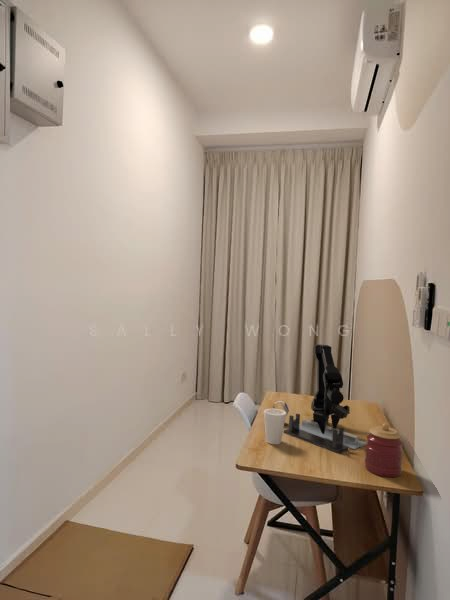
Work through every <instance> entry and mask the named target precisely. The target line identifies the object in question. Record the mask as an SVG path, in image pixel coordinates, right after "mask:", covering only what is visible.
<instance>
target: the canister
mask: <svg viewBox="0 0 450 600" xmlns="http://www.w3.org/2000/svg"><path fill="white" fill-rule="evenodd" d="M368 432H369V433H368V434H367V435H366V436H365V437H366V439H367V442H365V443H366V445H365V446H366V447H365V458H364V465H365V469H366V470H367V471H368V472H370V473H371V474H374V475H376V476H380V477H385V478H396V477H399V476H400V475H401V473H402V470H403V467H402V464H403V453H404V451H403V448H402V447H403V445H404V440H403V439H402V438H401V437H402V434H401V433H400V432H398V430H397V429H395V428H393V427H390V425H389V424H388V423H385V422H384V423H382V425H376V426H373V427H371V428H370V429H368Z"/></svg>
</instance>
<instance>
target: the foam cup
mask: <svg viewBox="0 0 450 600" xmlns="http://www.w3.org/2000/svg"><path fill="white" fill-rule="evenodd" d="M263 417H264V419H263V420H264V431H265V442H266V443H268V444H270V445H279V444H281V442H282V437H283V434H284V427H285V423H286V418H287V416H286V412H285V410H284V409H280V408H275V409H273V408H267V409H264V410H263Z"/></svg>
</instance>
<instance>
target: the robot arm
mask: <svg viewBox="0 0 450 600" xmlns="http://www.w3.org/2000/svg"><path fill="white" fill-rule="evenodd" d="M312 353H313V357H314V359H315V360H316V364H317V366H316V392H315V393H314V395H313V398H312V401H311V404H310V408H311V410H312V412H313V413H312V418H313V419H312V420H311V421H314V422H317V423H318V425H319V427H320V430H321V432H322V434H324V433H325V428H326V426H327V424H329V422H330V421H331V426H332V428H335V429H338V425H339V422H340V420H344V419H346V418H347V417H348V415H349V414H350V406H349V405H348V404H347V405H344V406H343V405H340V404H342V402H343V401H344V395H343V392H342V391H340V390H341V389H343V386H344V380H343V377H342V374H341V372H340V370H339V369H340V368H338V367H336V365H335V361H334V358H333V353H332V346H330V345H328V344H314V346H313V347H312ZM330 418H331V420H330V421H329V419H330Z"/></svg>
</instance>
